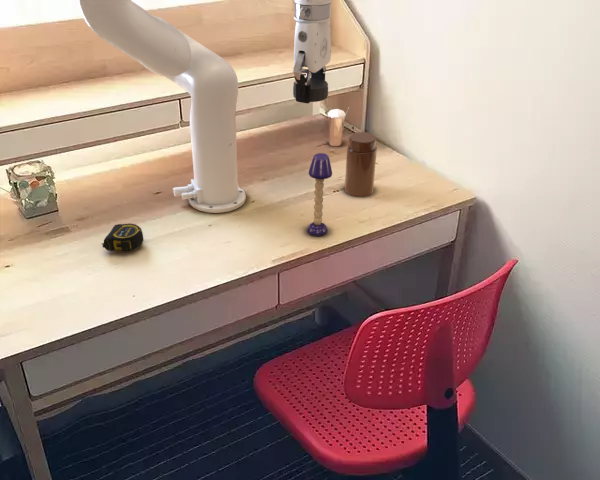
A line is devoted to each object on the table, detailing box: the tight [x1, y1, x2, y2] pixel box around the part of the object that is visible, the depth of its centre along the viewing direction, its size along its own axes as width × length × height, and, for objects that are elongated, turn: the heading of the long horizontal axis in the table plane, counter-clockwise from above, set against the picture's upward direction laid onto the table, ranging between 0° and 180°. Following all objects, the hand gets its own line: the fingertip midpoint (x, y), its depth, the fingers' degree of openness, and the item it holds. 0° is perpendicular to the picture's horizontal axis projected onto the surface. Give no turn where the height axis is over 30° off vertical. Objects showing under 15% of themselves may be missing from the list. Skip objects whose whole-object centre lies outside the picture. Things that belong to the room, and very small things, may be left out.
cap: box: [292, 77, 329, 103], centre depth 148 cm, size 8×8×3 cm
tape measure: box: [101, 223, 144, 253], centre depth 134 cm, size 7×7×4 cm
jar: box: [344, 131, 378, 198], centre depth 153 cm, size 7×7×13 cm
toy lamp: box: [306, 152, 333, 237], centre depth 136 cm, size 5×5×17 cm
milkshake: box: [327, 107, 350, 147], centre depth 175 cm, size 4×5×10 cm
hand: (310, 95), depth 149 cm, fingers closed on cap, 7 cm apart
